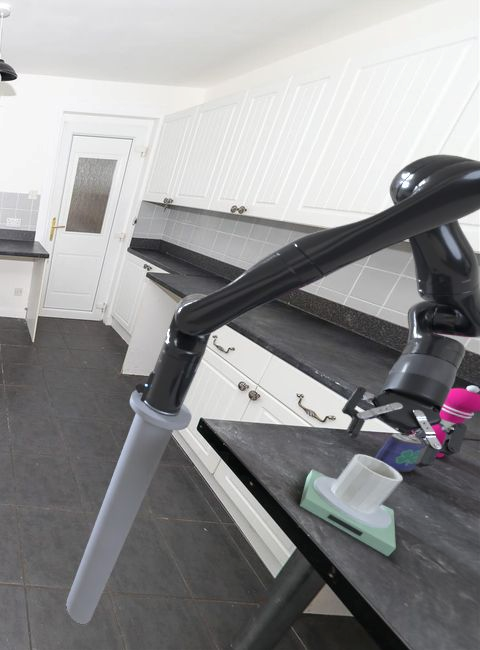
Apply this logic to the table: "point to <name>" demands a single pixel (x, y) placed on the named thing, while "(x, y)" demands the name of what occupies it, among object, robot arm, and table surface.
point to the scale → (349, 514)
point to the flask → (400, 452)
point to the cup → (366, 483)
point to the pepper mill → (457, 409)
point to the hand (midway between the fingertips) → (384, 450)
